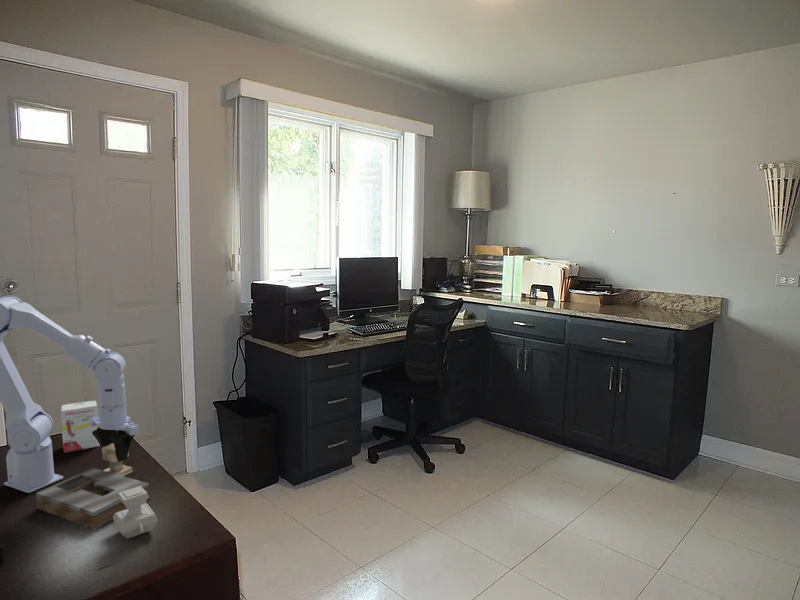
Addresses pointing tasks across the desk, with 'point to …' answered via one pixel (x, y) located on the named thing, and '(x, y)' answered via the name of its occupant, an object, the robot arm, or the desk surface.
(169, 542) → the desk surface
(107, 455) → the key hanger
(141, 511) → the stamp
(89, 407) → the ink box
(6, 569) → the desk surface
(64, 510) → the keyhole base
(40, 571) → the desk surface
